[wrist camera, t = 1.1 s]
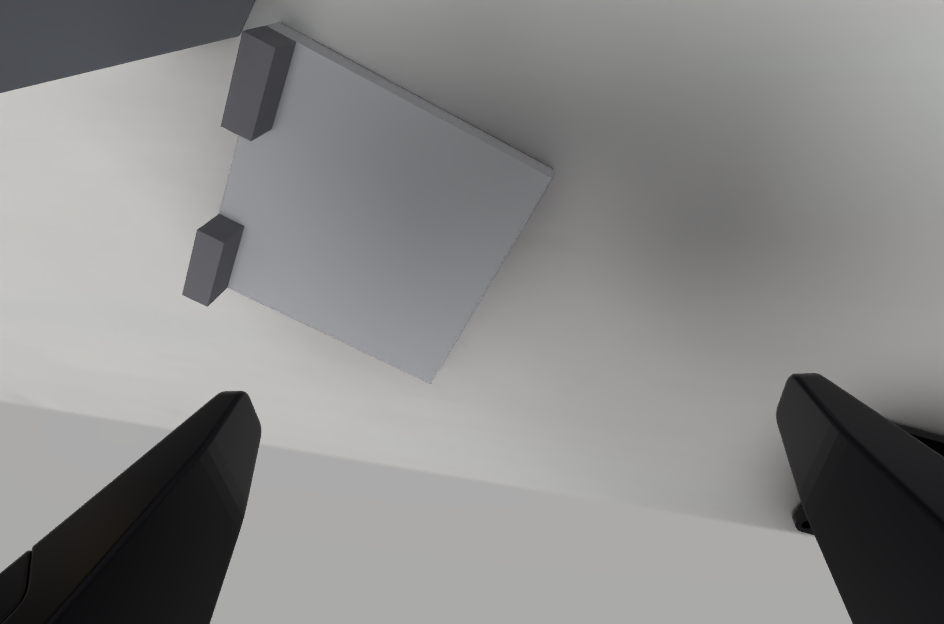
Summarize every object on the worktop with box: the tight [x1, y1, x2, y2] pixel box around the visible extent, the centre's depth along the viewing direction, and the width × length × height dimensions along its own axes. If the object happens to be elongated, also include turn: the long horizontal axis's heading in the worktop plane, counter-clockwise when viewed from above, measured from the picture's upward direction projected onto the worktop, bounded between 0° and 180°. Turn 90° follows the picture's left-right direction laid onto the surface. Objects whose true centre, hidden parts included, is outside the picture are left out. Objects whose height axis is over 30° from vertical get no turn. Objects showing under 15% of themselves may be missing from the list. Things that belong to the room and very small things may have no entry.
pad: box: [182, 23, 553, 384], centre depth 21 cm, size 10×10×2 cm
